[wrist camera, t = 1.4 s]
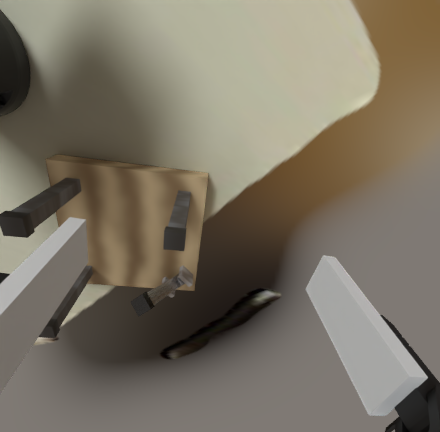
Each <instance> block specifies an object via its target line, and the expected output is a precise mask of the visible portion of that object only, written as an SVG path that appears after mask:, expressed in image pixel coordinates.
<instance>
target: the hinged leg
mask: <svg viewBox="0 0 440 432" xmlns="http://www.w3.org/2000/svg"><path fill="white" fill-rule="evenodd" d="M178 276H179V274H177V275H176V276H174V277H173V278H171V279H170V280H168V281H167V282H165V283H163V284H162V285H160V286H158V287H156V288H155V289H153V290H151V291H150V292H148V293H147V292H145V293H143V294H142V295H140V296H139V297H137V298H136V299H134V300H133V301H131V304H132V305H133V307H134V309H135V311H136V313H137V315H138V316H140V315H142V314H144V313H145V312H147V311H148V310H150V309H152V308H153V307H154V305H155V304H156V303H157V302H159V301H160V300H162V299H163V298H164V297H166V296H167V295H169V294H170V293H171V292H173V291H174V290H176V289H177V288H179V287H180V286H182V285H184V284H185V283H184V282H183V281H182V280H181V279H179V278H178Z"/></svg>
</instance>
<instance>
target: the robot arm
mask: <svg viewBox="0 0 440 432" xmlns="http://www.w3.org/2000/svg"><path fill="white" fill-rule="evenodd" d="M29 84H30V68H29V62H28V58H27V55H26V52H25V49H24V46H23V44H22V42H21V40H20V38H19V36H18V34H17V32H16V30H15V29H14V27H13V26H12V24H11V23H10V21H9V20H8V19H7V17H6V16H5V15H4V14H3V13H2V11H1V10H0V116H1V115H5V114H8V113H10V112H12V111H14V110H15V109H17V108H18V107H19V106H20V105H21V104H22V102H23V101H24V99H25V98H26V95H27V93H28V89H29ZM87 263H88V248H87V228H86V219H79V218H72V217H69V218H68V219H67V220H66V221H65V222H64V223H63V224H62V225H61V226H60V227H59V228H58V229H57V230H56V231H55V232H54V233H53V234H52V235H51V236H50V237H49V238H47V239H46V240H45V241H44V242H43V243H42V244H41V245H40V246H39V247H38V248H37V249H36V250H35V251H34V252H33V253H32V254H31V255H30V256H29V257H28V258H27V259H26V260H25V261H24V262H23V263H21V264H20V265H19V266H18V267H17V268H16V269H15V270H14V271H13V272H12V273H11V274H6V273H0V394H1V392H2V391H3V389H4V388H5V386H6V385H7V383H8V382H9V380H10V379H11V377H12V376H13V374H14V373H15V371H16V370H17V368H18V367H19V365H20V364H21V362H22V361H23V359H24V358H25V356H26V355H27V353H28V352H29V350H30V349H31V347H32V346H33V344H34V343H35V341H36V340H37V338H38V337H39V335H40V334H41V332H42V331H43V329H44V328H45V326H46V325H47V323H48V322H49V320H50V319H51V317H52V316H53V314H54V313H55V311H56V310H57V308H58V307H59V305H60V304H61V302H62V301H63V299H64V298H65V296H66V295H67V293H68V292H69V290H70V289H71V287H72V286H73V284H74V283H75V281H76V280H77V278H78V277H79V275H80V274H81V272H82V271H83V269H84V268H85V266H86V265H87ZM306 291H307V293H308V295H309V297H310V299H311V301H312V303H313V305H314V307H315V309H316V311H317V313H318V315H319V317H320V319H321V321H322V323H323V325H324V327H325V329H326V331H327V333H328V335H329V337H330V339H331V341H332V343H333V345H334V347H335V349H336V351H337V353H338V355H339V357H340V359H341V361H342V363H343V365H344V367H345V369H346V371H347V373H348V375H349V377H350V379H351V381H352V383H353V385H354V387H355V389H356V391H357V393H358V395H359V397H360V399H361V401H362V403H363V405H364V407H365V409H366V410H367V413H368V414H369V415H374V416H375V415H377V416H386V415H387V414H388V413H389V412H391V411H392V410H393V409H394V408H395V410H396V411H397V413H398V415H399V417H398V418H397V419H396V420H395V421H393V423H391V424H390V425H389V426H388V427H386V431H385V432H391V431H393V430H394V429H395V432H440V383H439V381H438V380H437V379H436V378H435V377H434V375H433V374H432V373H431V372H430V370H429V369H428V368H427V367H426V365H425V364H424V363H423V362H422V360H421V359H420V358H419V357H418V355H417V354H416V353H415V352H414V350H413V349H412V348H411V347H409V344H408V343H407V342H406V340H405V339H404V338H402V335H401V334H400V333H399V331H398V330H397V329H396V328H395V326H394V325H393V324H392V323H391V322H389V321H388V320H387V319H386V318H385V317H384V316H383V315H379V313H378V312H377V311H376V309H375V308H374V307H373V306H372V304H371V303H370V302H369V300H368V299H367V298H366V296H365V295H364V294H363V293H362V291H361V290H360V289H359V287H358V286H357V285H356V284H355V282H354V281H353V280H352V278H351V277H350V276H349V274H347V272H346V271H345V269H344V268H343V267H342V265H341V264H340V263H339V262H338V260H337V259H336V258H335V257H331V256H323V257H322V259H321V261H320V263H319V265H318V266H317V269H316V270H315V272H314V274H313V276H312V278H311V280H310V282H309V284H308V285H307V287H306Z"/></svg>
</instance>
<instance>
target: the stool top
mask: <svg viewBox="0 0 440 432" xmlns="http://www.w3.org/2000/svg"><path fill="white" fill-rule="evenodd" d="M45 160H46V165H47V170H48V175H49V180H50V185H51V187H50V188H48V189H46V190H45V191H43V192H42V193H40V194H38V195H37V196H35V197H33V198H32V199H30V200H28V201H27V202H25V203H23V204H22V205H20V206H19V207H17V208H15V209H14V210H12V211H5V212H3V213H1V214H0V226H1V229H2V232H3V235H4V236H15V237H26V238H28V237H29V236H30V235H31V234H33V233H34V232H35V231H34V228H36V227H37V226H38V225H39V224H41V223H42V222H43V221H45V220H46V219H47V218H48V217H50V216H51V215H52V214H53V213H55V212H56V216H57V221H58V226H59V227H60V226H61V225H62V224H63V223H64V222H65V221H66V220H67V219H68V218H69V217H72V218H79V219H86V228H87V248H88V263H87V265H86V266H85V268H84V269H83V271H82V272H81V274H80V275H79V277H78V278H77V280H76V281H75V283H74V284H73V286H72V287H71V289H70V290H69V292H68V293H67V295H66V296H65V298H64V299H63V301H62V302H61V304H60V305H59V307H58V308H57V310H56V311H55V313H54V314H53V316H52V317H51V319H50V320H49V322H48V323H47V325H46V326H45V328H44V329H43V331H42V332H41V334H40V335H39V337H46V338H55V337H56V336H57V334H58V333H59V330H60V329H59V327H60V326H61V324H62V322H63V321H64V319H65V318H66V316H67V314H68V313H69V311H70V310H71V308H72V307H73V305H74V303H75V302H76V300H77V299H78V297H79V295H80V294H81V292H82V291H83V289H84V287H85V286H86V284H87V283H88V284H102V285H117V286H132V287H146V288H156V287H158V286H160V285H162V284H163V283H165V282H167V281H168V280H170V279H171V278H173V277H174V276H176V275H177V274H179V276H178V278H179V279H181V280H182V281H183V282H184V283H185V284H184V285H182V286H180V287H179V288H177V289H176V290H189V291H194V289H195V281H196V273H197V264H198V257H199V248H200V241H201V233H202V225H203V217H204V209H205V201H206V193H207V185H208V173H204V172H195V171H187V170H179V169H171V168H163V167H155V166H147V165H139V164H131V163H122V162H114V161H106V160H98V159H90V158H82V157H74V156H66V155H54V156H52V157H50V158H47V159H45ZM174 295H175V290H174V291H173V292H171V293H170V294H169V295H168V296H169V297H171V298H172V297H174Z"/></svg>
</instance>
